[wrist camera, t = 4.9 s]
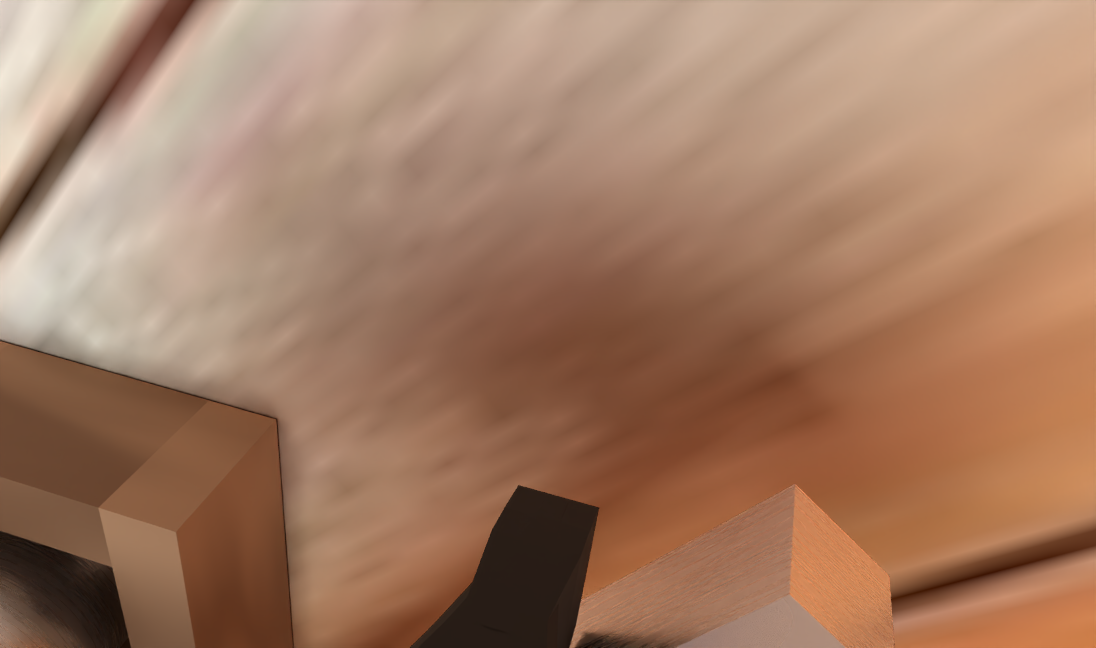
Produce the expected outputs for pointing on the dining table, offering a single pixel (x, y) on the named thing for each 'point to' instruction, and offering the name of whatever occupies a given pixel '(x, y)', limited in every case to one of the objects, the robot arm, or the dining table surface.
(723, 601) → the bar
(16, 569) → the steel pin
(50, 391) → the socket block
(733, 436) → the dining table surface
